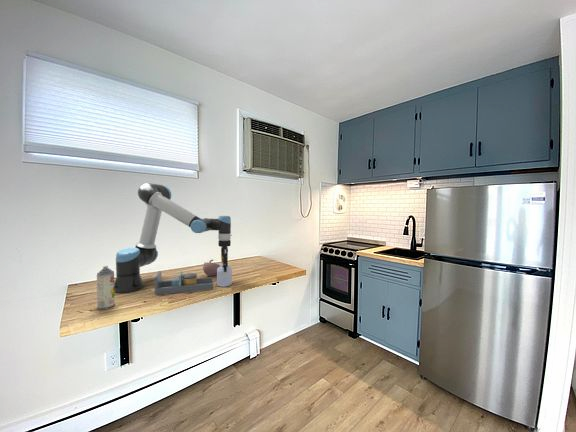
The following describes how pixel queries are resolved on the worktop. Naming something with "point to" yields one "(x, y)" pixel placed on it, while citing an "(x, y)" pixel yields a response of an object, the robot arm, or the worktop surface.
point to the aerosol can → (105, 288)
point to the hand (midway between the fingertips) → (224, 274)
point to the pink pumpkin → (210, 268)
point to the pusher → (177, 280)
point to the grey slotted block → (177, 289)
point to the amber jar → (189, 279)
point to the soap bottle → (220, 279)
